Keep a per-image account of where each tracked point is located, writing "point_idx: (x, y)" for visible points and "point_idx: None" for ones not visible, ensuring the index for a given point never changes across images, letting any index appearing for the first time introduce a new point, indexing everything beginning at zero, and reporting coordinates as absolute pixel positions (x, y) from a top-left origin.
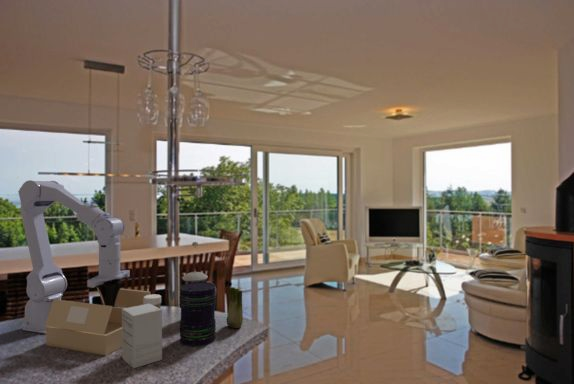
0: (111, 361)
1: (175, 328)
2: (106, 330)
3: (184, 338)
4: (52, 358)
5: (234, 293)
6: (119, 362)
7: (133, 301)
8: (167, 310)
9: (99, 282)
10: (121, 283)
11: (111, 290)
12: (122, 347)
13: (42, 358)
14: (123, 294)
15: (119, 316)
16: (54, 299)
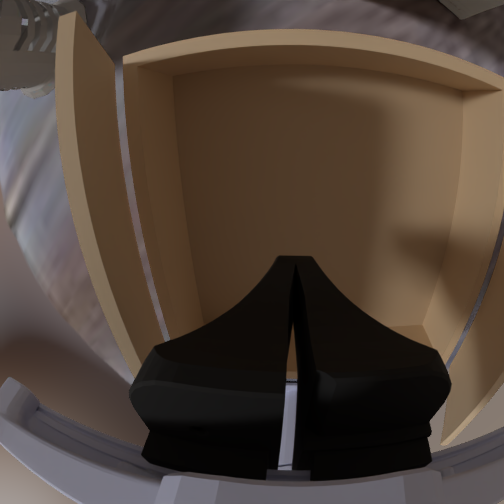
0: (482, 47)
1: (127, 19)
2: (280, 242)
3: None
4: (500, 237)
5: None
6: (475, 21)
7: (120, 214)
8: (25, 203)
9: (477, 463)
10: (185, 360)
11: (386, 333)
12: (482, 11)
13: None
14: (132, 306)
15: (180, 266)
16: (447, 443)
